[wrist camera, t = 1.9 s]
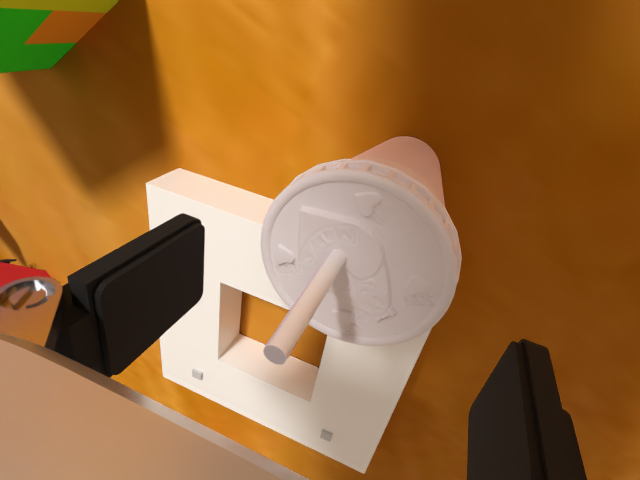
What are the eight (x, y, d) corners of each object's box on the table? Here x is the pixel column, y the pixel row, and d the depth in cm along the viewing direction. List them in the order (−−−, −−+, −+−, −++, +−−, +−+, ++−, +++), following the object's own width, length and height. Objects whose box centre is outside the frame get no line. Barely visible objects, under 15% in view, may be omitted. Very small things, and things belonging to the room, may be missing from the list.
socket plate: (179, 167, 25) (138, 186, 22) (452, 260, 21) (448, 298, 18) (185, 351, 34) (158, 381, 31) (373, 438, 30) (362, 482, 27)
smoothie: (421, 78, 17) (301, 173, 6) (495, 190, 18) (519, 457, 7) (321, 156, 21) (123, 312, 9) (388, 246, 22) (285, 484, 10)
